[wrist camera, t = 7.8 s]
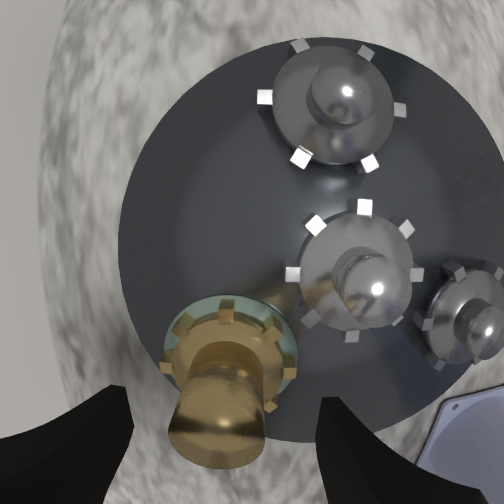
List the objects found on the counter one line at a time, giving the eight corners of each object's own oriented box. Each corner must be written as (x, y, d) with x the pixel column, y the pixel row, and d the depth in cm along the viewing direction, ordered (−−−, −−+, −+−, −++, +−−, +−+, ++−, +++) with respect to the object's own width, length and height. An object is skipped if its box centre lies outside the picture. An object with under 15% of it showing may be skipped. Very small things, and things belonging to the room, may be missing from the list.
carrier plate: (506, 90, 12) (557, 75, 8) (463, 409, 17) (494, 449, 12) (131, 49, 13) (90, 9, 8) (150, 424, 17) (127, 477, 12)
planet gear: (297, 300, 14) (320, 367, 9) (289, 408, 15) (299, 490, 10) (160, 296, 14) (111, 356, 9) (172, 403, 15) (144, 480, 10)
